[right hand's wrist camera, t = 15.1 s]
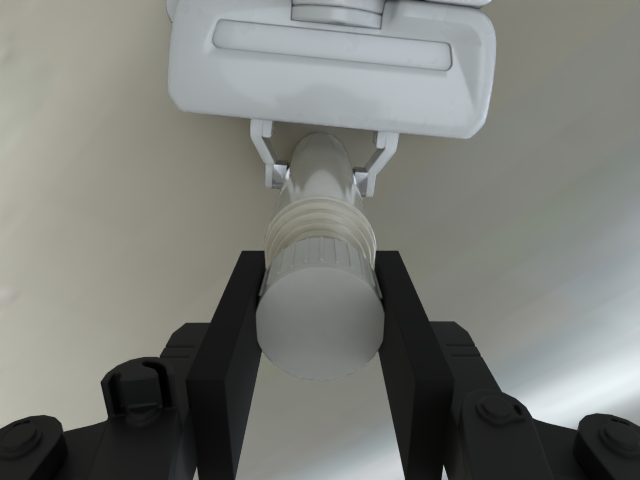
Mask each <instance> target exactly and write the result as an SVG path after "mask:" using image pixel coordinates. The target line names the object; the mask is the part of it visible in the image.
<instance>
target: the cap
mask: <svg viewBox="0 0 640 480" xmlns="http://www.w3.org/2000/svg"><path fill="white" fill-rule="evenodd" d="M259 296H260V298H259V302H258V306H257V309H256V328H257V341H258V343H259V345H260V347H261V349H262V351H263V352H264V354H265V355H266V356H267V358H268V359H269V360H270V361H271V362H272V363H273V364H274V365H276V366H277V367H278V368H280V369H281V370H283V371H285V372H286V373H288V374H291V375H293V376H296V377H299V378H303V379H308V380H318V381H320V380H332V379H337V378H341V377H344V376H347V375H350V374H352V373H354V372H356V371H357V370H359V369H360V368H362V367H363V366H365V365H366V364H367V363H368V362H369V361H370V360H371V359H372V358H373V357H374V356H375V354H376V353H377V351H378V350H379V348H380V346H381V344H382V341H383V332H384V314H385V313H384V309H383V305H382V301H381V299H382V294H381V291H380V287H379V283H378V280H377V276H376V273H375V271H373V270H372V268H371V265H370V261H369V260H366V258H365V257H364V256H363V255H362V254H361V251H360V250H359V251H358V250H356V249H355V248H353V247H352V246H350V244H349V243H347V244H346V243H344V242H341V241H338V240H337V239H335V238H334V239H330V238H323V237H320V238H311V239H309V238H306V239H305V240H302V241H299V242H294V243H293V244H292V245H290V246H288V247H287V248H285V249H282V250H281V252H280V253H279V254H278V255H277V256H276V257H275V258H273V259H272V262H271V264H270V266H269V268H266V271H265V274H264V278H263V282H262V285H261V289H260V293H259Z"/></svg>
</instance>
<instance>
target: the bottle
mask: <svg viewBox="0 0 640 480" xmlns="http://www.w3.org/2000/svg"><path fill="white" fill-rule="evenodd" d="M320 237H323V238H330V239H334V238H335V239H337V240H338V241H341V242H344V243H346V244H347V243H349V244H350V246H352V247H353V248H355V249H356V250H358V251H359V250H360V251H361V254H362V255H363V256H364V257H365V258H366V260H369V261H370V265H371V268H372V269H373V265H374V261H375V252H376V239H375V235H374V232H373V229H372V226H371V223H370V220H369V217H368V214H367V211H366V208H365V205H364V202H363V199H362V196H361V194H360V191H359V188H358V185H357V182H356V179H355V176H354V173H353V170H352V167H351V164H350V161H349V158H348V155H347V152H346V149H345V147H344V146H343V144H342V143H341V142H340V141H339V140H338V139H337V138H336V137H334V136H332V135H330V134H327V133H320V132H319V133H312V134H310V135H307V136H306V137H304V138H303V139H302V140H300V141H299V143H298V144H297V145H296V147H295V149H294V152H293V155H292V158H291V161H290V164H289V167H288V170H287V173H286V175H285V178H284V181H283V184H282V187H281V190H280V193H279V196H278V199H277V202H276V205H275V208H274V211H273V214H272V217H271V220H270V223H269V226H268V229H267V232H266V235H265V240H264V251H265V260H266V265H267V268H269V266H270V264H271V262H272V259H273V258H275V257H276V256H277V255H278V254H279V253H280V252H281V250H282V249H285V248H287V247H288V246H290V245H292V244H293V243H294V242H299V241H302V240H305V239H306V238H309V239H311V238H320Z"/></svg>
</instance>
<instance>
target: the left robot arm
mask: <svg viewBox="0 0 640 480" xmlns="http://www.w3.org/2000/svg"><path fill="white" fill-rule="evenodd" d="M491 1H492V0H166V9H167V14H168V17H169V19H170V21H171V23H172V29H171V36H170V45H169V55H168V72H167V90H168V95H169V97H170V99H171V100H172V101H173V103H174V104H175V105H176V107H177V108H178V109H179V110H180V111H182V112H187V113H198V114H208V115H218V116H229V117H239V118H250V119H251V124H250V137H251V139H252V141H253V143H254V145H255V147H256V149H257V151H258V153H259V155H260V157H261V159H262V160H263V162H264V163H266V167H265V188H271V189H272V188H274V189H281V187H282V184H283V181H284V178H285V175H286V173H287V170H288V166H289V161H286V160H278V159H277V157H276V155H275V152H274V150H273V148H272V146H271V144H270V142H269V140H268V138H270V137H271V136H272V135H273V133H274V128H275V121H281V122H291V123H302V124H312V125H322V126H333V127H343V128H354V129H364V130H374V134H373V143H374V144H375V146H376V147H377V148H378V149H377V150H376V152H375V153H374V154H373V156H372V157H371V159H370V160H369V161H368V163H367V164H366V165H365V168H363V167H353V173H354V176H355V179H356V182H357V185H358V188H359V191H360V194H361V196H362V197H371V198H372V197H373V193H374V186H375V179H376V174H378V173H379V172H380V171H381V169H382V168H383V167H384V166H385V164H386V163H387V162H388V160H389V159H390V158H391V157H392V155H393V154H394V153H395V152H396V150H397V143H398V137H399V133H406V134H416V135H427V136H437V137H447V138H458V139H469V138H471V137H472V136H473V135H474V134H475V133H476V132H477V131H478V130H479V129H480V128H481V127H482V126H483V125H484V123H485V121H486V117H487V113H488V108H489V103H490V98H491V92H492V85H493V78H494V70H495V58H496V36H495V31H494V27H493V25H492V23H491V21H490V19H489V18H488V17H487V16H486V15H485V14H484V13H483V12H481V11H480V10H478V9H480V8H482V7H484V6H485V5H487V4H488V3H489V2H491Z"/></svg>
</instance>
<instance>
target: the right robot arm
mask: <svg viewBox="0 0 640 480" xmlns="http://www.w3.org/2000/svg"><path fill="white" fill-rule="evenodd" d="M265 271H266V267H265V251H242V252H241V254H240V257H239V259H238V261H237V264H236V266H235V268H234V270H233V273H232V275H231V277H230V280H229V282H228V284H227V286H226V289H225V291H224V293H223V295H222V298H221V300H220V302H219V305H218V307H217V309H216V311H215V314H214V316H213V318H212V320H211V323H185V324H184V325H183V326H182V327H180V328H179V329H178V330H176V331H175V332H174V333H173V334H172V336H171V337H170V339H169V341H168V343H167V344H166V348H164V350H163V351H162V353H161V355H160V358H158V357H142V358H137V359H132V360H129V361H127V362H125V363H122V364H120V365H118V366H116V367H115V368H114V369H112V370H111V371H109V372H108V373H107V374H106V375H105V377H104V378H103V379H102V381H101V387H102V391H103V396H104V400H105V405H106V409H107V414H108V419H107V420H106V421H104V422H101V423H98V424H94V425H91V426H86V427H82V428H78V429H74V430H69V431H65V432H63V428H62V424H61V423H60V422H59V421H58V420H57V419H56V418H55V417H51V416H46V415H40V416H30V417H27V418H24V419H20V420H17V421H14V422H12V423H10V424H9V425H7V426H5V427H3V428H1V429H0V480H193V477H194V473H195V470H196V467H197V469H198V477H199V480H235V477H236V473H237V468H238V463H239V458H240V454H241V449H242V444H243V439H244V434H245V430H246V425H247V420H248V415H249V411H250V406H251V401H252V396H253V391H254V387H255V382H256V377H257V372H258V367H259V363H260V358H261V353H262V349H261V347H260V345H259V343H258V341H257V328H256V309H257V306H258V302H259V298H260V296H259V293H260V289H261V285H262V282H263V278H264V274H265ZM375 273H376V276H377V280H378V283H379V287H380V291H381V294H382V299H381V301H382V305H383V309H384V313H385V314H384V332H383V341H382V344H381V346H380V348H379V350H378V352H379V357H380V361H381V366H382V371H383V376H384V381H385V385H386V390H387V395H388V400H389V405H390V409H391V414H392V419H393V424H394V428H395V433H396V438H397V443H398V448H399V452H400V457H401V462H402V467H403V471H404V476H405V480H441V479H442V471H443V464H444V467H445V470H446V474H447V477H448V480H640V427H639V426H638V425H636V424H634V423H632V422H630V421H628V420H626V419H623V418H620V417H617V416H613V415H609V414H599V413H596V414H591V415H587V416H585V417H584V418H583V419H582V420H581V421H580V422H579V426H578V429H577V430H574V429H570V428H566V427H561V426H557V425H553V424H548V423H545V422H542V421H539V420H536V419H534V418H532V416H531V414H530V413H529V411H528V410H527V408H526V407H525V406H524V405H523V404H522V403H521V402H519V401H518V400H517V399H516V398H514V397H512V396H510V395H507V394H505V393H503V392H502V391H501V389H500V388H499V386H498V384H497V382H496V381H495V379H494V377H493V375H492V374H491V372H490V370H489V368H488V367H487V365H486V363H485V361H484V360H483V358H482V357H481V356H480V355H481V354H480V353H479V351H478V349H477V347H475V344H474V342H473V340H472V339H471V337H470V335H469V333H468V332H467V331H466V330H464V329H463V328H462V327H461V326H459V325H458V324H457V323H455V322H436V321H435V322H434V321H429V320H428V318H427V315H426V313H425V311H424V308H423V306H422V304H421V302H420V299H419V297H418V295H417V293H416V290H415V288H414V286H413V283H412V281H411V279H410V277H409V274H408V272H407V270H406V268H405V265H404V263H403V261H402V258H401V256H400V254H399V252H398V251H376V252H375Z"/></svg>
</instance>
